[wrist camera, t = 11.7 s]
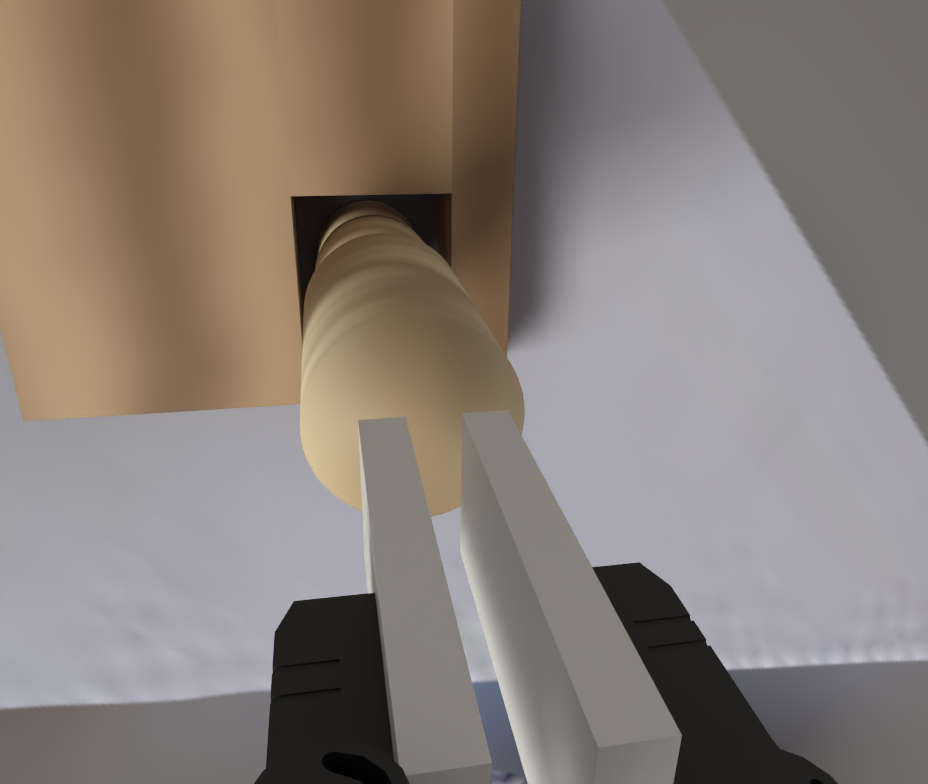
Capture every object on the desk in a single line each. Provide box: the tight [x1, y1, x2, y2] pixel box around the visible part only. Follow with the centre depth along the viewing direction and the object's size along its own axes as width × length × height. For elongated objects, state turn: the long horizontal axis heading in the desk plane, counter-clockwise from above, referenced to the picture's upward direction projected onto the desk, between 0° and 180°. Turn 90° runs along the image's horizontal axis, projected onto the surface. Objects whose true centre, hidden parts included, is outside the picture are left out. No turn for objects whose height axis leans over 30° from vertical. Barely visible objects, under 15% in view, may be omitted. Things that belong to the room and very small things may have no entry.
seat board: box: [0, 0, 521, 421], centre depth 25 cm, size 16×13×3 cm
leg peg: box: [300, 200, 524, 517], centre depth 21 cm, size 4×4×14 cm
